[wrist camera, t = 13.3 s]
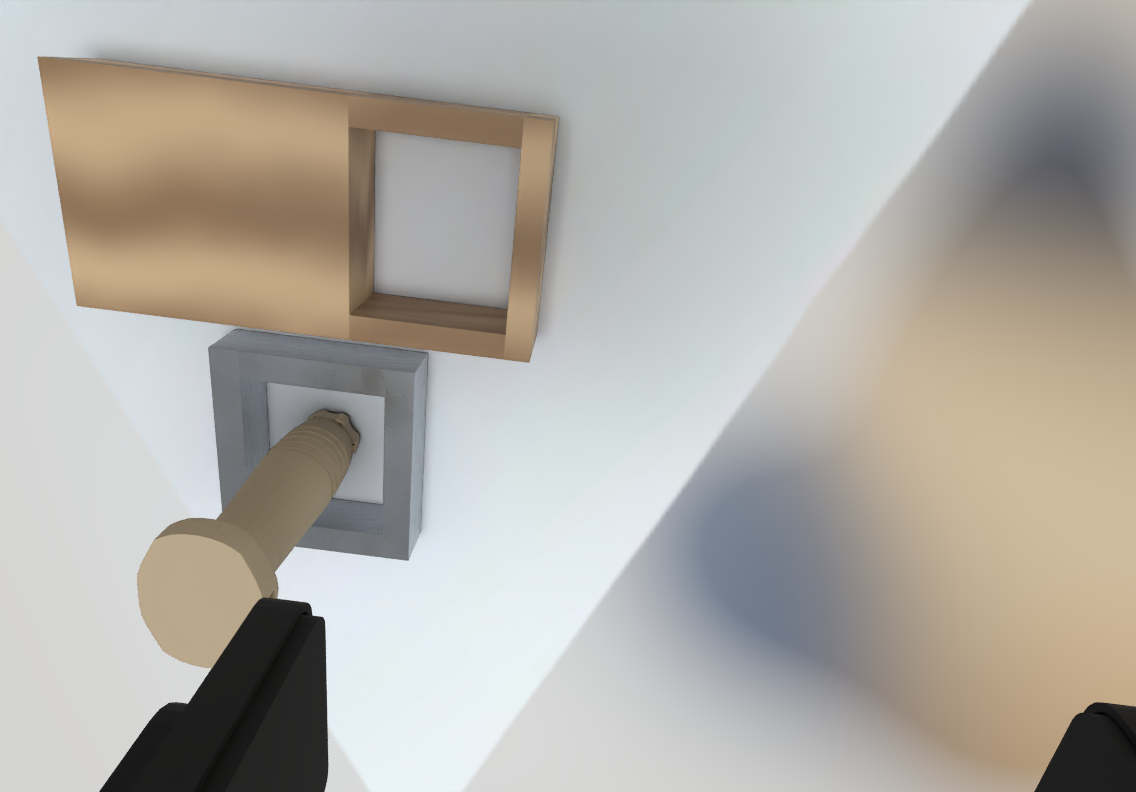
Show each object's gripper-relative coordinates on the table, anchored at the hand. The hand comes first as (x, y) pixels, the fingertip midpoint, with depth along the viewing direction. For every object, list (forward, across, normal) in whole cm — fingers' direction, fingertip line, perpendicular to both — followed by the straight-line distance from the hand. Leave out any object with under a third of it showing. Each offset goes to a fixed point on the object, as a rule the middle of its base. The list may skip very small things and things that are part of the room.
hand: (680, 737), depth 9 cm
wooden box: (+30, +15, 0) cm, 34 cm away
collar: (+30, +15, +13) cm, 36 cm away
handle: (+31, +15, +13) cm, 36 cm away
